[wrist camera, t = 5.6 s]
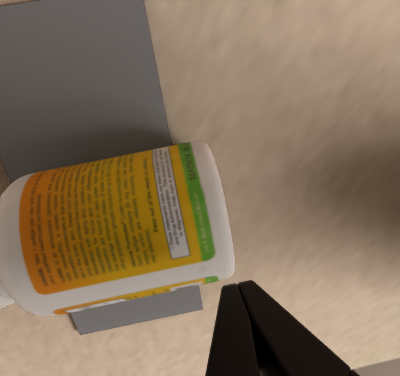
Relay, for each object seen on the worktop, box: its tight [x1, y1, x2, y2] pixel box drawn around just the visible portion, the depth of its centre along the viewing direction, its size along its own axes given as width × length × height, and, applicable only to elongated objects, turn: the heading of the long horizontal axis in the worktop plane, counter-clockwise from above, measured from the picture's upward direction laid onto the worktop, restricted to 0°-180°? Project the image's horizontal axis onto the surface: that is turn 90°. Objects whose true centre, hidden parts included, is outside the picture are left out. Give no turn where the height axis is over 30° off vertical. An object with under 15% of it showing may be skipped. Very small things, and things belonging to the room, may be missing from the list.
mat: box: [0, 0, 203, 335], centre depth 15 cm, size 7×16×1 cm, turn 8°
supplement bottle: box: [0, 141, 235, 317], centre depth 13 cm, size 5×5×10 cm
